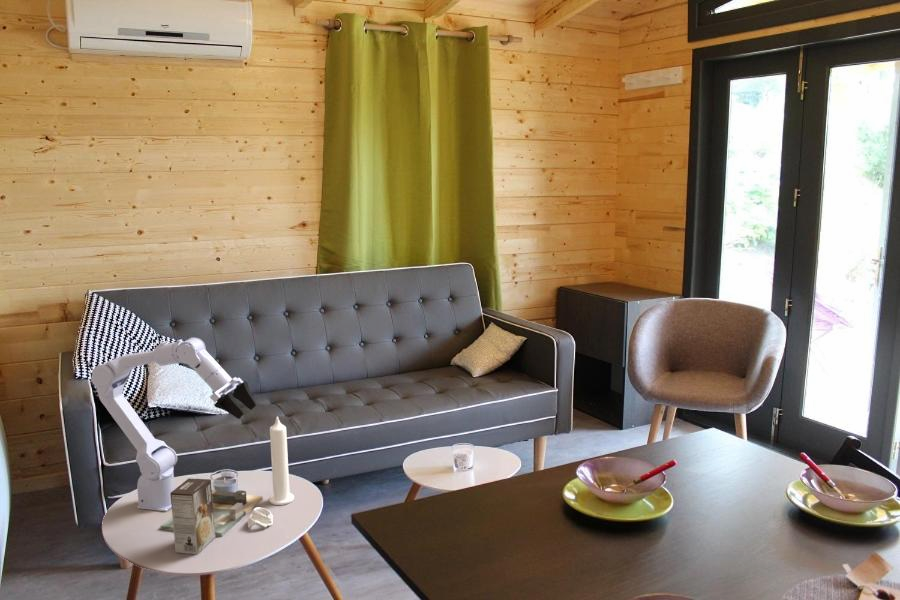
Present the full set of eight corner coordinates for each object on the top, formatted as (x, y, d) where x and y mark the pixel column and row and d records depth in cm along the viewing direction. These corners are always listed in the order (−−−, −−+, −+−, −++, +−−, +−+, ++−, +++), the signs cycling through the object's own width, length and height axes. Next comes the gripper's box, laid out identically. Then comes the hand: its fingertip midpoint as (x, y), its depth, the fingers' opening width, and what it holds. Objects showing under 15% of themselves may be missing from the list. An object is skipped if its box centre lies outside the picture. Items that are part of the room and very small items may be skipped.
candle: (269, 496, 220) (264, 413, 216) (293, 493, 222) (289, 411, 217) (269, 506, 213) (264, 421, 209) (294, 503, 215) (290, 419, 211)
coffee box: (193, 535, 197) (188, 477, 195) (216, 537, 196) (211, 478, 193) (174, 553, 189) (169, 492, 186) (198, 555, 187) (193, 494, 185)
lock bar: (248, 501, 214) (248, 491, 213) (243, 506, 211) (242, 495, 210) (211, 497, 217) (211, 487, 216) (205, 502, 214) (205, 492, 213)
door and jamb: (160, 529, 201) (159, 515, 200) (206, 493, 222) (205, 481, 221) (221, 536, 197) (220, 522, 196) (262, 499, 218) (261, 486, 217)
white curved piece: (248, 522, 207) (245, 505, 206) (273, 517, 208) (271, 500, 208) (248, 533, 199) (245, 516, 198) (274, 528, 200) (271, 511, 200)
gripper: (210, 372, 197) (245, 411, 197) (235, 358, 211) (268, 394, 211) (193, 389, 199) (228, 427, 199) (219, 374, 213) (252, 410, 213)
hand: (247, 411), depth 205 cm, fingers open, 7 cm apart
